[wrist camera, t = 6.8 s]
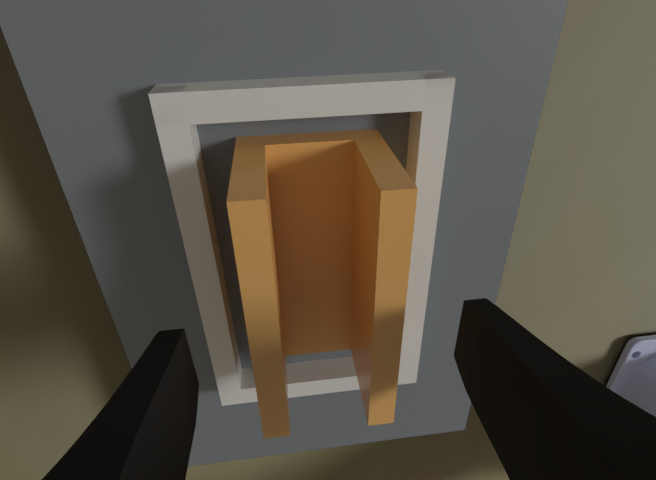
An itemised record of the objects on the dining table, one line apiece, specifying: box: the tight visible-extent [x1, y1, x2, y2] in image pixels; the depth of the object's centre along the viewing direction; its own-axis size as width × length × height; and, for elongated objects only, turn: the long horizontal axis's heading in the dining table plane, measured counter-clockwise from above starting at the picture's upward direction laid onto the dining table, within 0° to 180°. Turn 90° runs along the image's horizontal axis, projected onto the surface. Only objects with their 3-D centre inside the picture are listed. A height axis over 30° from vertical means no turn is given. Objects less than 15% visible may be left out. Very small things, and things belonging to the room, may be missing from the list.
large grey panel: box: [0, 0, 568, 466], centre depth 16 cm, size 20×14×4 cm
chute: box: [227, 129, 418, 439], centre depth 13 cm, size 8×4×4 cm, turn 1°
